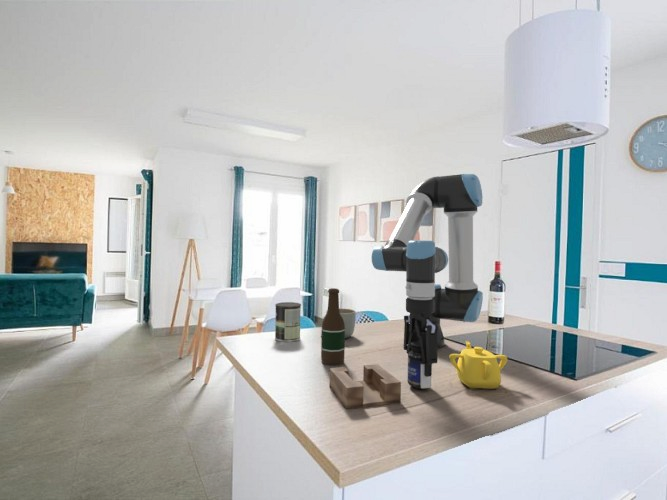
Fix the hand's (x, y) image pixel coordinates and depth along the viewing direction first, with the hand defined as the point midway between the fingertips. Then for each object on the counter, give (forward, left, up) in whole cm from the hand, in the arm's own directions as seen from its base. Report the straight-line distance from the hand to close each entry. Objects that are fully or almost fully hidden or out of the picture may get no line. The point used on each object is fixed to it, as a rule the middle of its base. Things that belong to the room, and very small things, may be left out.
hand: (419, 382), depth 99 cm
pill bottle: (0, 0, -1) cm, 1 cm away
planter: (+3, -58, -2) cm, 58 cm away
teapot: (-18, +1, -2) cm, 18 cm away
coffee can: (+25, -60, -2) cm, 65 cm away
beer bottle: (+16, -27, -2) cm, 31 cm away
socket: (+16, 0, -1) cm, 16 cm away
